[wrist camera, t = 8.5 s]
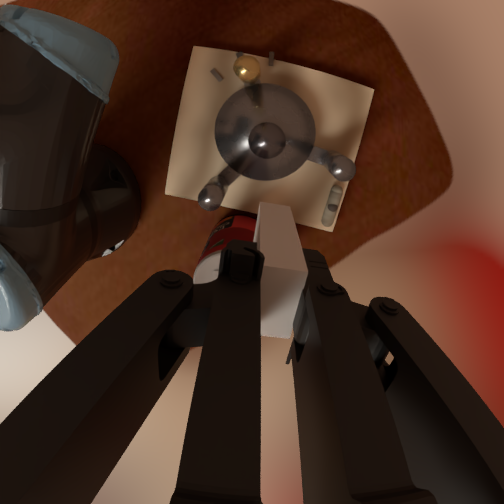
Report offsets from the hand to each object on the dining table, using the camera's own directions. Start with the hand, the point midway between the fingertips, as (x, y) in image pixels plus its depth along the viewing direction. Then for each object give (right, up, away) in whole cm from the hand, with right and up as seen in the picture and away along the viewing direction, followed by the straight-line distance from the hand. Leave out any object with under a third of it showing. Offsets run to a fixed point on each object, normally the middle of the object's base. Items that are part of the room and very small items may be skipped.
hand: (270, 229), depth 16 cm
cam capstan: (0, +12, +16) cm, 20 cm away
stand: (+1, +12, +18) cm, 22 cm away
